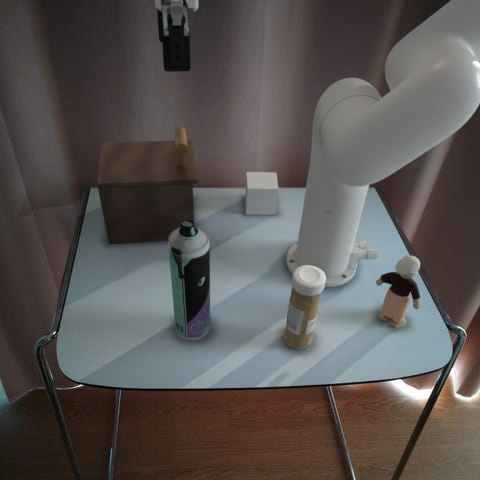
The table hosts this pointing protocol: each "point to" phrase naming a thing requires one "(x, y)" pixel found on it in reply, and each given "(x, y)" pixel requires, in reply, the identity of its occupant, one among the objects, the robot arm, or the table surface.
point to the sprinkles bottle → (303, 305)
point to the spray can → (190, 280)
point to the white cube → (261, 193)
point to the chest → (145, 211)
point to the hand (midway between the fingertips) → (174, 55)
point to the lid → (148, 162)
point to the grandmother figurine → (400, 291)
